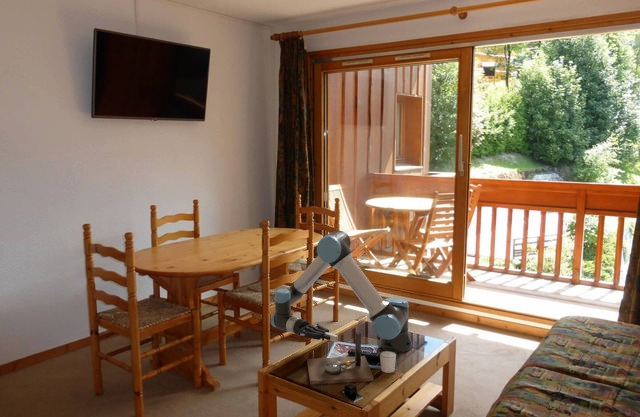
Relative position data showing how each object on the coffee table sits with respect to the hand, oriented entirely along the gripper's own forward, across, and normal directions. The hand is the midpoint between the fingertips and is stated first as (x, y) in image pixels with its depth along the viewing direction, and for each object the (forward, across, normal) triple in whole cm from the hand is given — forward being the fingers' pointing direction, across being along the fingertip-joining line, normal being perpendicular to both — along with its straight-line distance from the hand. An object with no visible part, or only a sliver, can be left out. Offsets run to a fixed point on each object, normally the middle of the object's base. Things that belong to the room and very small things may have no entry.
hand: (337, 339), depth 216 cm
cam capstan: (+9, +7, -8) cm, 14 cm away
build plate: (+22, +20, -11) cm, 32 cm away
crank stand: (+7, +7, -10) cm, 14 cm away
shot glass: (+22, -7, -10) cm, 25 cm away
